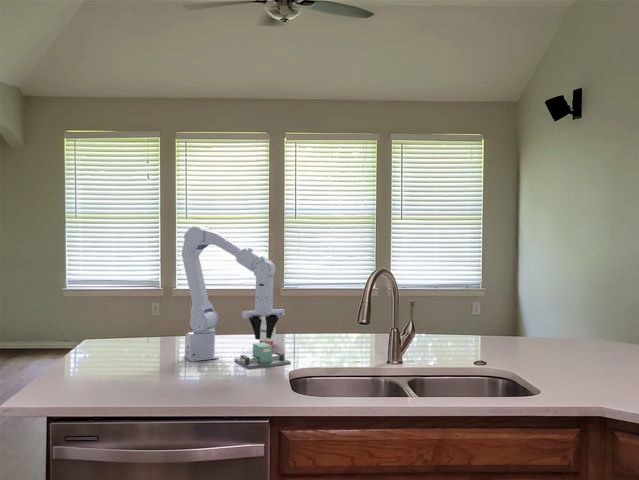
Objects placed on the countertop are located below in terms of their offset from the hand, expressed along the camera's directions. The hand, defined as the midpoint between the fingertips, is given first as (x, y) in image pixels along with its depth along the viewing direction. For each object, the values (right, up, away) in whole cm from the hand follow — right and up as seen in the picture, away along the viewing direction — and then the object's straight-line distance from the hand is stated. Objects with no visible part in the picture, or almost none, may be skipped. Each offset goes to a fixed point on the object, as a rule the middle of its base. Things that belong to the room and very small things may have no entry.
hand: (263, 338), depth 178 cm
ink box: (-1, -8, +26) cm, 27 cm away
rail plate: (0, -8, 0) cm, 8 cm away
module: (0, -7, 0) cm, 7 cm away
